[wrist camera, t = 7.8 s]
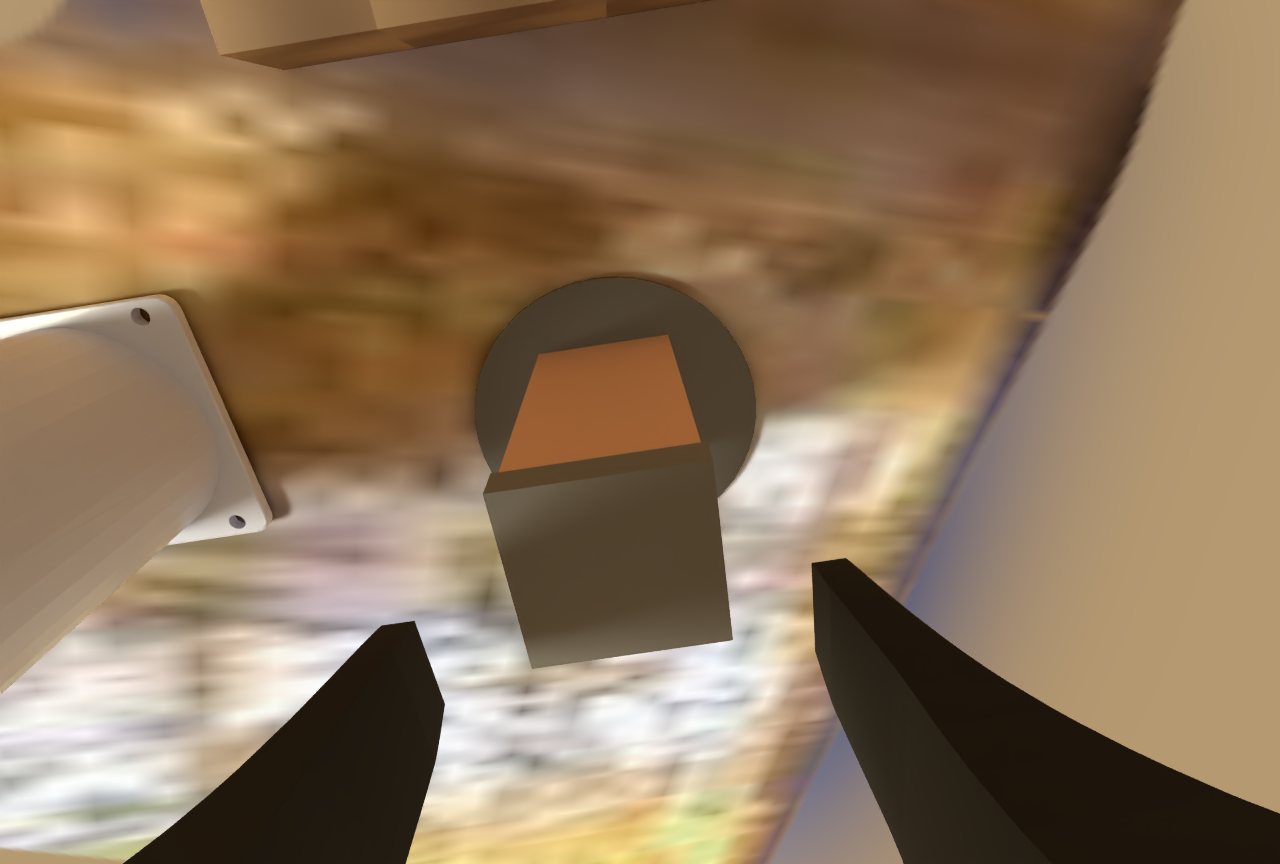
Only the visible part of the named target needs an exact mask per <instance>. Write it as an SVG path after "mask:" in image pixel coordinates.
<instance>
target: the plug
mask: <svg viewBox="0 0 1280 864" xmlns="http://www.w3.org/2000/svg"><path fill="white" fill-rule="evenodd" d="M483 496H484V500H485V503H486V507H487V510H488V514H489V517H490V521H491V524H492V528H493V532H494V535H495V539H496V542H497V546H498V549H499V553H500V557H501V560H502V564H503V567H504V571H505V574H506V578H507V581H508V585H509V589H510V592H511V596H512V599H513V603H514V606H515V610H516V613H517V617H518V621H519V624H520V628H521V631H522V635H523V638H524V642H525V645H526V649H527V653H528V656H529V660H530V663H531V667H532V669H534V668H541V667H548V666H555V665H562V664H569V663H576V662H583V661H590V660H597V659H604V658H611V657H618V656H625V655H632V654H639V653H646V652H653V651H660V650H667V649H674V648H681V647H688V646H695V645H702V644H709V643H716V642H723V641H730V640H733V637H732V628H731V619H730V610H729V601H728V591H727V582H726V573H725V564H724V555H723V546H722V537H721V527H720V518H719V509H718V500H717V491H716V482H715V473H714V463H713V458H712V455H711V452H710V449H709V446H708V443H707V441H706V442H701V441H700V437H699V434H698V431H697V428H696V424H695V421H694V418H693V415H692V411H691V408H690V405H689V401H688V398H687V395H686V392H685V388H684V385H683V382H682V379H681V375H680V372H679V369H678V366H677V362H676V359H675V356H674V352H673V349H672V346H671V343H670V339H669V336H668V335H662V336H656V337H649V338H642V339H636V340H629V341H623V342H616V343H610V344H603V345H596V346H590V347H583V348H577V349H570V350H564V351H557V352H551V353H544V354H539V355H538V358H537V361H536V364H535V366H534V369H533V372H532V375H531V378H530V381H529V384H528V387H527V390H526V393H525V396H524V399H523V402H522V405H521V408H520V411H519V414H518V416H517V419H516V422H515V425H514V428H513V431H512V434H511V437H510V440H509V443H508V446H507V449H506V452H505V455H504V458H503V461H502V464H501V467H500V469H499V472H498V473H491V474H490V476H489V479H488V482H487V485H486V487H485V490H484V493H483Z"/></svg>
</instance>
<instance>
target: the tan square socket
mask: <svg viewBox="0 0 1280 864" xmlns="http://www.w3.org/2000/svg"><path fill="white" fill-rule="evenodd" d="M703 1H709V0H200V2H201V5H202V8H203V10H204V13H205V16H206V19H207V22H208V24H209V27H210V30H211V33H212V36H213V38H214V41H215V44H216V47H217V49H218V52H219V55H221V56H225V57H230V58H234V59H238V60H243V61H247V62H252V63H256V64H260V65H265V66H269V67H273V68H278V69H282V70H285V69H291V68H297V67H304V66H310V65H316V64H322V63H328V62H334V61H340V60H347V59H353V58H359V57H365V56H371V55H377V54H383V53H390V52H396V51H402V50H408V49H414V48H420V47H426V46H433V45H439V44H445V43H451V42H457V41H463V40H469V39H476V38H482V37H488V36H494V35H500V34H506V33H512V32H519V31H525V30H531V29H537V28H543V27H549V26H555V25H562V24H568V23H574V22H580V21H586V20H592V19H598V18H605V17H611V16H617V15H623V14H629V13H635V12H641V11H648V10H654V9H660V8H666V7H672V6H678V5H685V4H691V3H697V2H703Z"/></svg>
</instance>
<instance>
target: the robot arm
mask: <svg viewBox="0 0 1280 864" xmlns="http://www.w3.org/2000/svg"><path fill="white" fill-rule="evenodd" d="M140 308H142V309H144V310H145V311H147V313H148V314H149V315H150V322H148V321H146V320H145V319H143V317H142V316H141V315H140ZM235 515H238V516H240V517H242V518H243V519H244V520H245V522H241V521H239V520H238V519H237V518H236V516H235ZM272 518H273V516H272V512H271V510H270V507H269V505H268V503H267V501H266V498H265V496H264V494H263V492H262V489H261V487H260V485H259V483H258V480H257V478H256V476H255V473H254V471H253V469H252V467H251V464H250V462H249V460H248V458H247V455H246V453H245V451H244V449H243V446H242V444H241V442H240V440H239V437H238V435H237V433H236V430H235V428H234V426H233V424H232V421H231V419H230V417H229V415H228V412H227V410H226V408H225V406H224V403H223V401H222V399H221V397H220V394H219V392H218V390H217V388H216V385H215V383H214V381H213V378H212V376H211V374H210V372H209V369H208V367H207V365H206V363H205V360H204V358H203V356H202V354H201V351H200V349H199V347H198V345H197V342H196V340H195V338H194V335H193V333H192V331H191V329H190V326H189V324H188V322H187V320H186V317H185V315H184V313H183V311H182V308H181V307H180V305H179V304H178V302H176V301H175V300H174V299H173V298H171V297H169V296H166V295H161V294H156V295H150V296H144V297H137V298H131V299H124V300H118V301H112V302H105V303H99V304H92V305H86V306H80V307H73V308H67V309H60V310H54V311H48V312H41V313H35V314H28V315H22V316H16V317H9V318H3V319H0V695H1V694H2V693H3V692H4V691H5V690H6V689H7V688H8V687H9V686H11V685H12V684H13V683H14V682H15V681H16V680H17V679H18V678H19V677H21V676H22V675H23V674H24V673H25V672H26V671H27V670H28V669H29V668H31V667H32V666H33V665H34V664H35V663H36V662H37V661H38V660H39V659H40V658H42V657H43V656H44V655H45V654H46V653H47V652H48V651H49V650H50V649H52V648H53V647H54V646H55V645H56V644H57V643H58V642H59V641H60V640H62V639H63V638H64V637H65V636H66V635H67V634H68V633H69V632H70V631H72V630H73V629H74V628H75V627H76V626H77V625H78V624H79V623H80V622H82V621H83V620H84V619H85V618H86V617H87V616H88V615H89V614H90V613H91V612H93V611H94V610H95V609H96V608H97V607H98V606H99V605H100V604H101V603H103V602H104V601H105V600H106V599H107V598H108V597H109V596H110V595H111V594H113V593H114V592H115V591H116V590H117V589H118V588H119V587H120V586H121V585H123V584H124V583H125V582H126V581H127V580H128V579H129V578H130V577H131V576H133V575H134V574H135V573H136V572H137V571H138V570H139V569H140V568H141V567H142V566H144V565H145V564H146V563H147V562H148V561H149V560H150V559H151V558H152V557H154V556H155V555H156V554H157V553H158V552H159V551H160V550H161V549H162V548H164V547H165V546H166V545H172V544H179V543H186V542H192V541H199V540H206V539H213V538H219V537H226V536H233V535H240V534H246V533H253V532H259V531H262V530H264V529H265V528H266V527H267V526H268V525H269V524H270V523H271V521H272ZM812 584H813V608H814V632H815V652H816V655H817V658H818V661H819V664H820V668H821V671H822V674H823V677H824V680H825V683H826V686H827V689H828V692H829V695H830V698H831V701H832V704H833V706H834V709H835V711H836V713H837V715H838V718H839V720H840V722H841V724H842V726H843V729H844V731H845V733H846V735H847V737H848V740H849V742H850V744H851V746H852V748H853V751H854V753H855V755H856V757H857V759H858V761H859V764H860V766H861V768H862V770H863V772H864V774H865V777H866V779H867V781H868V783H869V785H870V788H871V790H872V792H873V794H874V796H875V798H876V800H877V803H878V805H879V807H880V809H881V811H882V814H883V815H884V818H885V820H886V822H887V824H888V827H889V829H890V831H891V834H892V836H893V838H894V841H895V843H896V846H897V848H898V850H899V853H900V855H901V858H902V860H903V863H904V864H1280V814H1279V813H1277V812H1274V811H1272V810H1269V809H1266V808H1264V807H1261V806H1259V805H1256V804H1254V803H1251V802H1248V801H1245V800H1243V799H1241V798H1238V797H1236V796H1233V795H1231V794H1229V793H1226V792H1224V791H1221V790H1219V789H1217V788H1215V787H1212V786H1210V785H1208V784H1205V783H1203V782H1201V781H1199V780H1196V779H1194V778H1192V777H1190V776H1187V775H1185V774H1183V773H1181V772H1178V771H1176V770H1174V769H1171V768H1169V767H1167V766H1165V765H1163V764H1161V763H1158V762H1156V761H1154V760H1152V759H1150V758H1148V757H1146V756H1144V755H1142V754H1139V753H1137V752H1135V751H1133V750H1131V749H1129V748H1127V747H1125V746H1123V745H1121V744H1119V743H1117V742H1115V741H1113V740H1111V739H1109V738H1107V737H1105V736H1103V735H1102V734H1100V733H1098V732H1096V731H1094V730H1092V729H1090V728H1088V727H1086V726H1084V725H1082V724H1080V723H1078V722H1076V721H1075V720H1073V719H1071V718H1069V717H1067V716H1066V715H1064V714H1062V713H1060V712H1058V711H1056V710H1055V709H1053V708H1051V707H1049V706H1048V705H1046V704H1044V703H1043V702H1041V701H1039V700H1038V699H1036V698H1034V697H1033V696H1031V695H1029V694H1028V693H1026V692H1024V691H1023V690H1021V689H1019V688H1018V687H1016V686H1014V685H1013V684H1011V683H1009V682H1007V681H1006V680H1004V679H1003V678H1001V677H1000V676H998V675H997V674H995V673H994V672H992V671H990V670H989V669H987V668H986V667H984V666H982V664H980V663H979V662H977V661H975V660H974V659H973V658H971V657H970V656H968V655H967V654H966V653H964V652H963V651H961V650H960V649H958V648H957V647H956V646H954V645H953V644H952V643H950V642H949V641H948V640H946V639H945V638H943V637H942V636H941V635H940V634H938V633H937V632H936V631H934V630H933V629H932V628H931V627H929V626H928V625H927V624H925V623H924V622H923V621H921V620H920V619H919V618H918V617H916V616H915V615H914V614H912V613H911V612H910V611H909V610H907V609H906V608H905V607H904V606H903V605H901V604H900V603H899V602H898V601H896V600H895V599H894V598H893V597H892V596H890V595H889V594H888V593H887V592H886V591H884V590H883V589H882V588H881V587H880V586H879V585H877V584H876V583H875V582H874V581H873V580H871V579H870V578H869V577H868V576H867V575H866V574H864V573H863V572H862V571H861V570H860V569H859V568H857V567H856V566H855V565H854V564H853V563H851V562H850V561H849V560H848V559H846V558H843V559H836V560H829V561H823V562H816V563H812ZM444 707H445V703H444V700H443V698H442V695H441V692H440V690H439V687H438V684H437V681H436V679H435V676H434V673H433V670H432V668H431V665H430V662H429V659H428V657H427V654H426V651H425V649H424V646H423V643H422V640H421V638H420V635H419V632H418V629H417V627H416V624H415V621H410V622H403V623H396V624H390V625H383V626H381V627H380V628H378V629H377V630H376V631H375V632H374V633H373V634H372V635H371V636H370V637H369V638H368V639H367V640H366V641H365V642H364V643H363V644H362V645H361V646H360V647H359V648H358V649H357V650H356V652H355V653H354V654H353V655H352V656H351V657H350V658H349V659H348V660H347V661H346V662H345V663H344V664H343V665H342V666H341V667H340V668H339V669H338V670H337V671H336V672H335V674H334V675H333V676H332V677H331V678H330V679H329V680H328V681H327V682H326V683H325V684H324V685H323V686H322V687H321V688H320V689H319V690H318V691H317V692H316V693H315V694H314V695H313V696H312V697H311V698H310V699H309V700H308V701H307V702H306V704H305V705H304V706H303V707H302V708H301V709H300V710H299V711H298V712H297V713H296V714H295V715H294V716H293V717H292V718H291V719H290V720H289V721H288V722H287V723H286V724H285V725H284V726H283V727H281V728H280V729H279V730H278V731H277V732H276V733H275V734H274V735H273V736H272V737H271V738H270V739H269V740H268V741H267V742H266V743H265V744H264V745H263V746H262V747H261V748H260V749H259V750H258V751H256V752H255V753H254V754H253V755H252V756H251V757H250V758H249V759H248V760H247V761H246V762H245V763H244V764H243V765H242V766H241V767H240V768H239V769H238V770H236V771H235V772H234V773H233V774H232V775H231V776H230V777H229V778H228V779H227V780H225V781H224V782H223V783H222V784H221V785H220V786H219V787H217V788H216V789H215V790H214V791H213V792H212V793H211V794H209V795H208V796H207V797H206V798H205V799H204V800H202V801H201V802H200V803H199V804H198V805H196V806H195V807H194V808H193V809H192V810H190V811H189V812H188V813H187V814H186V815H184V816H183V817H182V818H181V819H180V820H179V821H177V822H176V823H175V824H174V825H172V826H171V827H170V828H169V829H167V830H166V831H165V832H164V833H163V834H161V835H160V836H159V837H157V838H156V839H155V840H153V841H152V842H151V843H150V844H148V845H147V846H146V847H144V848H143V849H142V850H140V851H139V852H138V853H136V854H135V855H134V856H132V857H131V858H130V859H128V860H127V861H126V862H124V863H123V864H406V861H407V857H408V854H409V850H410V847H411V844H412V840H413V837H414V834H415V830H416V827H417V824H418V820H419V817H420V814H421V810H422V807H423V803H424V800H425V797H426V793H427V790H428V786H429V783H430V779H431V776H432V772H433V769H434V765H435V761H436V756H437V751H438V745H439V739H440V733H441V727H442V720H443V713H444Z"/></svg>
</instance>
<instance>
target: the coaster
mask: <svg viewBox="0 0 1280 864" xmlns="http://www.w3.org/2000/svg"><path fill="white" fill-rule="evenodd" d="M662 335H668V336H669V339H670V343H671V346H672V349H673V352H674V356H675V359H676V362H677V366H678V369H679V372H680V375H681V379H682V382H683V385H684V388H685V392H686V395H687V398H688V401H689V405H690V408H691V411H692V415H693V418H694V421H695V424H696V428H697V431H698V434H699V437H700V441H701V442H706V441H707V443H708V446H709V449H710V452H711V455H712V458H713V463H714V473H715V482H716V491H717V498H718V497H719V496H720V495H721V494H722V493H723V492H724V491H725V489H726V488H727V487H728V486H729V484H730V483H731V482H732V481H733V479H734V478H735V476H736V474H737V473H738V471H739V469H740V468H741V466H742V464H743V462H744V460H745V457H746V455H747V453H748V450H749V447H750V444H751V440H752V437H753V432H754V425H755V418H756V400H755V393H754V386H753V381H752V378H751V374H750V371H749V368H748V365H747V363H746V361H745V359H744V356H743V354H742V352H741V350H740V348H739V347H738V345H737V344H736V342H735V341H734V339H733V338H732V336H731V334H730V333H729V331H728V330H727V329H726V328H725V327H724V326H723V324H722V323H721V322H720V321H719V320H718V319H717V318H716V317H715V316H714V315H713V314H712V313H711V312H709V311H708V310H707V309H706V308H705V307H704V306H703V305H701V304H699V303H698V302H696V301H695V300H693V299H692V298H690V297H689V296H687V295H685V294H683V293H681V292H679V291H677V290H675V289H673V288H671V287H668V286H665V285H662V284H658V283H655V282H652V281H647V280H642V279H636V278H627V277H605V278H593V279H589V280H584V281H580V282H575V283H572V284H569V285H566V286H564V287H561V288H558V289H556V290H554V291H552V292H550V293H548V294H546V295H544V296H542V297H540V298H539V299H537V300H536V301H534V302H533V303H532V304H530V305H529V306H527V307H526V308H525V309H523V310H522V311H521V312H520V313H519V314H518V315H517V316H516V317H515V318H514V319H513V320H512V321H511V322H510V323H509V324H508V325H507V326H506V328H505V329H504V330H503V332H502V333H501V334H500V335H499V337H498V338H497V340H496V342H495V343H494V345H493V347H492V349H491V350H490V352H489V354H488V355H487V358H486V360H485V363H484V365H483V368H482V370H481V373H480V376H479V381H478V385H477V389H476V398H475V423H476V429H477V434H478V439H479V443H480V446H481V449H482V452H483V454H484V457H485V459H486V461H487V463H488V465H489V467H490V469H491V471H492V473H498V472H499V469H500V467H501V464H502V461H503V458H504V455H505V452H506V449H507V446H508V443H509V440H510V437H511V434H512V431H513V428H514V425H515V422H516V419H517V416H518V414H519V411H520V408H521V405H522V402H523V399H524V396H525V393H526V390H527V387H528V384H529V381H530V378H531V375H532V372H533V369H534V366H535V364H536V361H537V358H538V355H539V354H544V353H551V352H557V351H564V350H570V349H577V348H583V347H590V346H596V345H603V344H610V343H616V342H623V341H629V340H636V339H642V338H649V337H656V336H662Z"/></svg>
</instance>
